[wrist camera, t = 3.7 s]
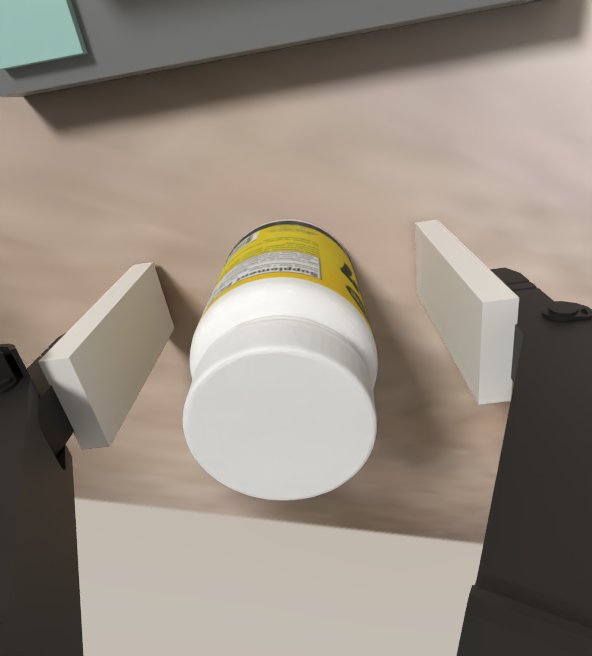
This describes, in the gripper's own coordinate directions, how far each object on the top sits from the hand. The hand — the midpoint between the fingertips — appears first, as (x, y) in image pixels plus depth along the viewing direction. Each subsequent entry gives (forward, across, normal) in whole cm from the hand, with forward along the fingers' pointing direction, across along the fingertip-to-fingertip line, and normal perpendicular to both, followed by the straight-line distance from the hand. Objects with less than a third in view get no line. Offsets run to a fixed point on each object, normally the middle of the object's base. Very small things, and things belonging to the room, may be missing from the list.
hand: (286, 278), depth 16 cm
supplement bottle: (0, 0, 0) cm, 0 cm away
